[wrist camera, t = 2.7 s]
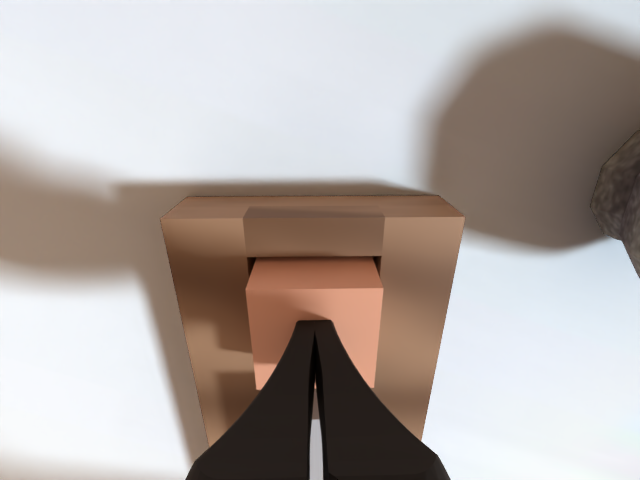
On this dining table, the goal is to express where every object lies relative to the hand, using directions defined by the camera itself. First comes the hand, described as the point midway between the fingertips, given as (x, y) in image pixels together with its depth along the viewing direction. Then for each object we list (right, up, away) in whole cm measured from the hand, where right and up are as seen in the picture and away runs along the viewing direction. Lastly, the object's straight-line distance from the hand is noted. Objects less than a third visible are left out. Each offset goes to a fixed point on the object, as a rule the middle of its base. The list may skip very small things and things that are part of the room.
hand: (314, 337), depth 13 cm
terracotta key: (0, +1, +3) cm, 3 cm away
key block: (0, -4, +7) cm, 8 cm away
